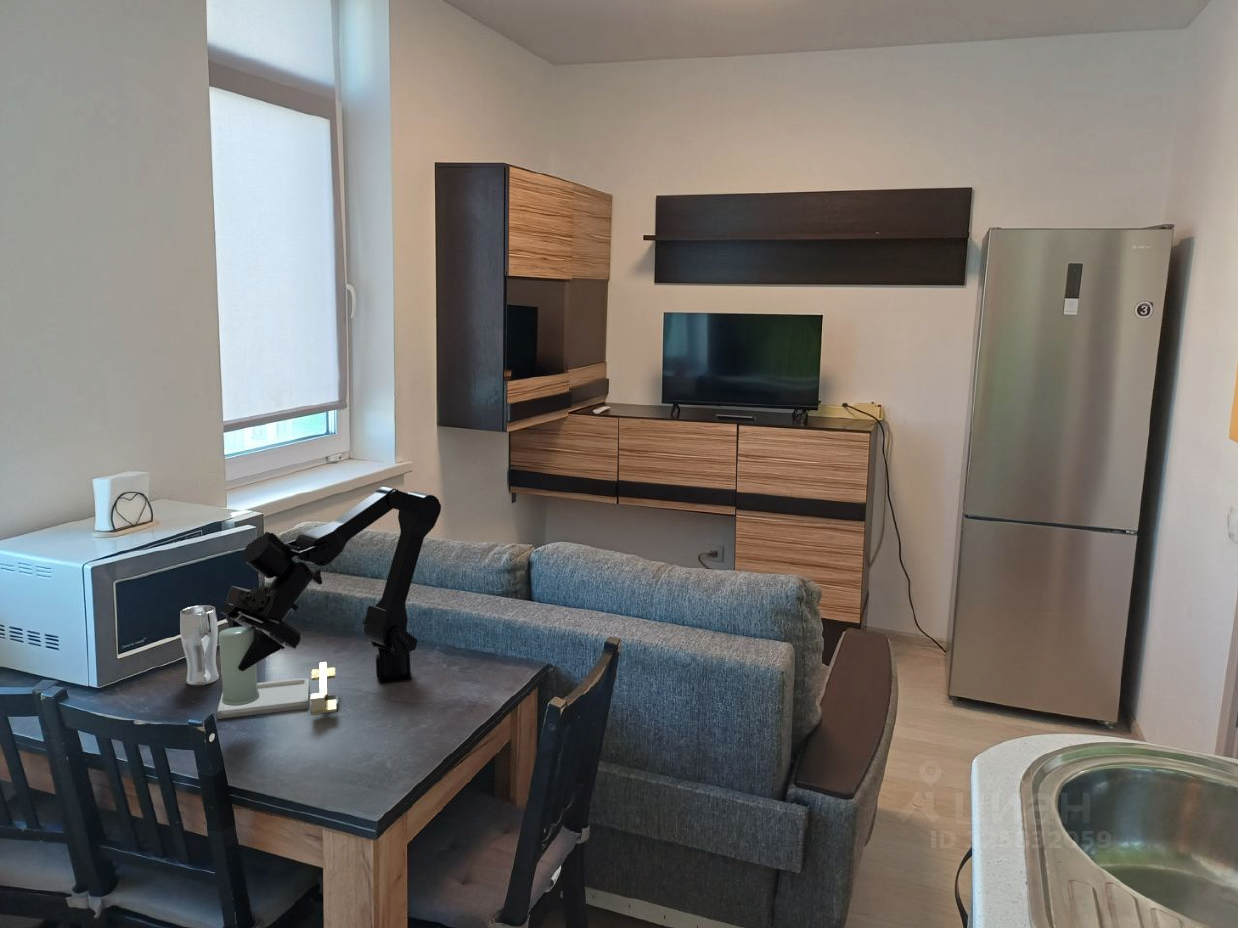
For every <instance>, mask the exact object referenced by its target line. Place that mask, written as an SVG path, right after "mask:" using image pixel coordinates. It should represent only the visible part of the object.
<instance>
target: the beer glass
mask: <svg viewBox="0 0 1238 928" xmlns="http://www.w3.org/2000/svg"><path fill="white" fill-rule="evenodd" d="M179 614H180V617H179V618H180V619H179V626H180V627H179V630H180V632H179V633H180V640H181V645H182V648H183V651H184V652H183V653H184V656H185V660H186V663H187V664H186V665H187V671H186V672H187V673H186V683H187V684H188V685H190V686H205V685H210V684H212V683H215V682H217V681H218V680H219V678H220V675H219V672H218V668H217V663H216V662H217V661H216V657H217V648H218V641H219V630H218V629H219V627H218V626H219V625H218V618H217V613H216V607H215V606H213V605H206V604H205V605H204V604H201V605H194V606H189V607H186V608H184V609H181V610H180V611H179Z"/></svg>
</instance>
